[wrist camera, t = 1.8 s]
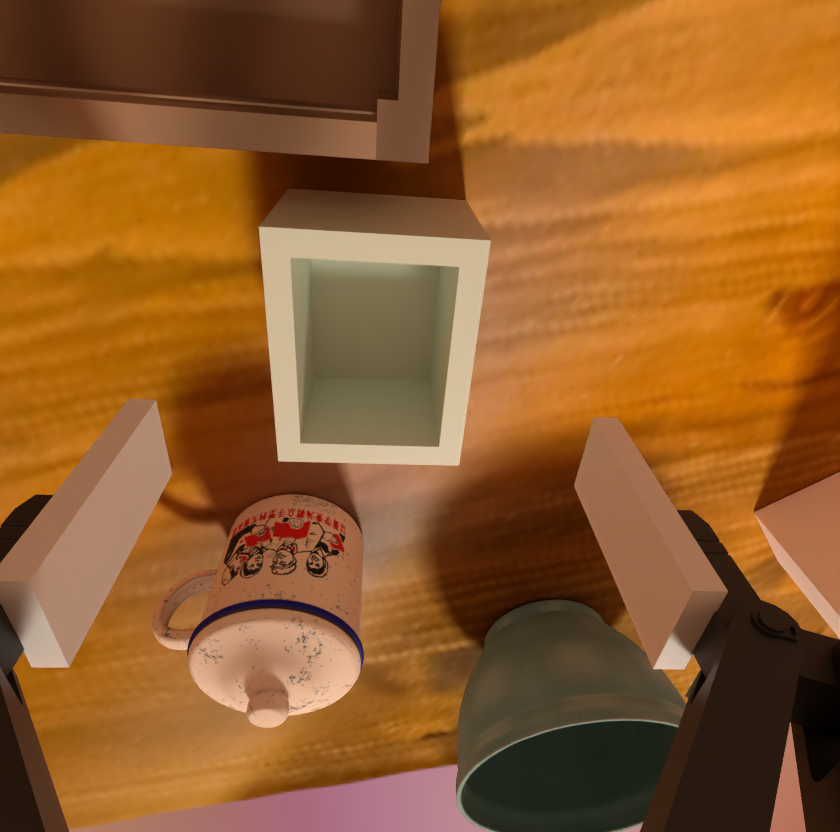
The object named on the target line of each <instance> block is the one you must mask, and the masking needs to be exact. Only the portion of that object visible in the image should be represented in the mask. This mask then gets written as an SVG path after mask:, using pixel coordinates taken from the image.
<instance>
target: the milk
mask: <svg viewBox="0 0 840 832" xmlns="http://www.w3.org/2000/svg"><path fill="white" fill-rule="evenodd" d="M754 513H755V516H756V518H757V520H758V522H759V524H760V526H761V528H762V530H763V532H764V534H765V536H766V538H767V540H768V542H769V544H770V546H771V548H772V550H773V552H774V555H775V557H776V559H777V560H778V562H779V563H780V564H781V566H782V567H783V568H784V569H785V571H786V572H787V573H788V574H789V576H790V577H791V578H792V579H793V581H794V582H795V583H796V584H797V586H798V587H799V588H800V589H801V591H802V592H803V593H804V595H805V596H806V597H807V598H808V600H809V601H810V602H811V603H812V605H813V606H814V607H815V608H816V610H817V611H818V612H819V613H820V615H821V616H822V617H823V618H824V620H825V621H826V622H827V623H828V625H829V626H830V627H831V628H832V630H833V631H834V632H835V633H836V635H837V636H838V637H839V639H840V472H838V473H836V474H834V475H832V476H830V477H827V478H825V479H823V480H821V481H819V482H817V483H815V484H812V485H810V486H808V487H806V488H804V489H802V490H800V491H798V492H795V493H793V494H791V495H789V496H787V497H785V498H783V499H780V500H778V501H776V502H774V503H772V504H770V505H768V506H766V507H763V508H761V509H759V510H757V511H755V512H754Z"/></svg>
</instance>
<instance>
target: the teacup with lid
mask: <svg viewBox="0 0 840 832" xmlns="http://www.w3.org/2000/svg"><path fill="white" fill-rule="evenodd" d="M363 549H364V546H363V538H362V534H361V531H360V529H359V527H358V526H357V524H356V523H355V521H354V520H353V519H352V518H351V517H350V516H349V515H348V514H347V513H346V512H345V511H344V510H342V509H341V508H339V507H338V506H336V505H334V504H333V503H330V502H328V501H326V500H323V499H320V498H317V497H313V496H308V495H298V494H287V495H279V496H274V497H270V498H266V499H263V500H261V501H259V502H256V503H255V504H253V505H251V506H250V507H248V508H247V509H245V510H244V511H243V512H242V513H241V514H240V515H239V516H238V517H237V519H236V520H235V522H234V524H233V525H232V527H231V530H230V533H229V536H228V539H227V542H226V545H225V548H224V552H223V555H222V558H221V561H220V564H219V567H218V569H214V570H207V571H202V572H199V573H196V574H193V575H191V576H188V577H186V578H185V579H183V580H182V581H180V582H179V583H177V584H176V585H175V586H174V587H172V588H171V589H170V590H169V591H168V592H167V593H166V594H165V596H164V597H163V598H162V599H161V601H160V602H159V604H158V605H157V607H156V609H155V611H154V614H153V617H152V630H153V632H154V635H155V637H156V638H157V640H158V641H159V642H160V643H161V644H162V645H164V646H166V647H168V648H170V649H175V650H187V656H188V666H189V670H190V672H191V675H192V677H193V679H194V681H195V682H196V684H197V685H198V686H199V687H200V689H201V690H202V691H203V692H205V693H206V694H207V695H208V696H210V697H211V698H212V699H214V700H216V701H217V702H219V703H221V704H223V705H225V706H228V707H230V708H233V709H235V710H239V711H242V712H246V713H247V717H248V719H249V721H250V722H251V723H252V724H254V725H256V726H259V727H264V728H270V727H275V726H278V725H280V724H282V723H283V722H284V721H285V720H286V718H287V716H290V715H298V714H304V713H308V712H312V711H315V710H318V709H321V708H323V707H326V706H328V705H330V704H332V703H334V702H335V701H337V700H339V699H340V698H341V697H342V696H344V695H345V694H346V693H347V692H348V691H349V690H350V688H351V687H352V686H353V685H354V683H355V681H356V680H357V678H358V676H359V673H360V671H361V668H362V665H363V659H364V652H363V647H362V644H361V641H360V624H361V599H362V574H363ZM206 589H211V591H210V594H209V597H208V600H207V603H206V607H205V610H204V613H203V616H202V619H201V622H200V624H199V625H198V626H197V627H196V629H186V630H177V629H172V628H169V627H168V624H169V621H170V619H171V617H172V615H173V614H174V612H175V611H176V609H177V608H178V607H179V606H180V605H181V604H182V603H183V602H184V601H185V600H186V599H188V598H189V597H190V596H192V595H193V594H195V593H197V592H200V591H202V590H206Z"/></svg>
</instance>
